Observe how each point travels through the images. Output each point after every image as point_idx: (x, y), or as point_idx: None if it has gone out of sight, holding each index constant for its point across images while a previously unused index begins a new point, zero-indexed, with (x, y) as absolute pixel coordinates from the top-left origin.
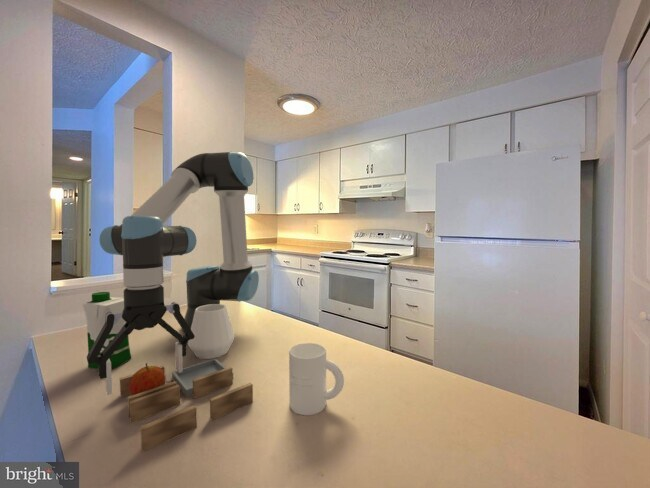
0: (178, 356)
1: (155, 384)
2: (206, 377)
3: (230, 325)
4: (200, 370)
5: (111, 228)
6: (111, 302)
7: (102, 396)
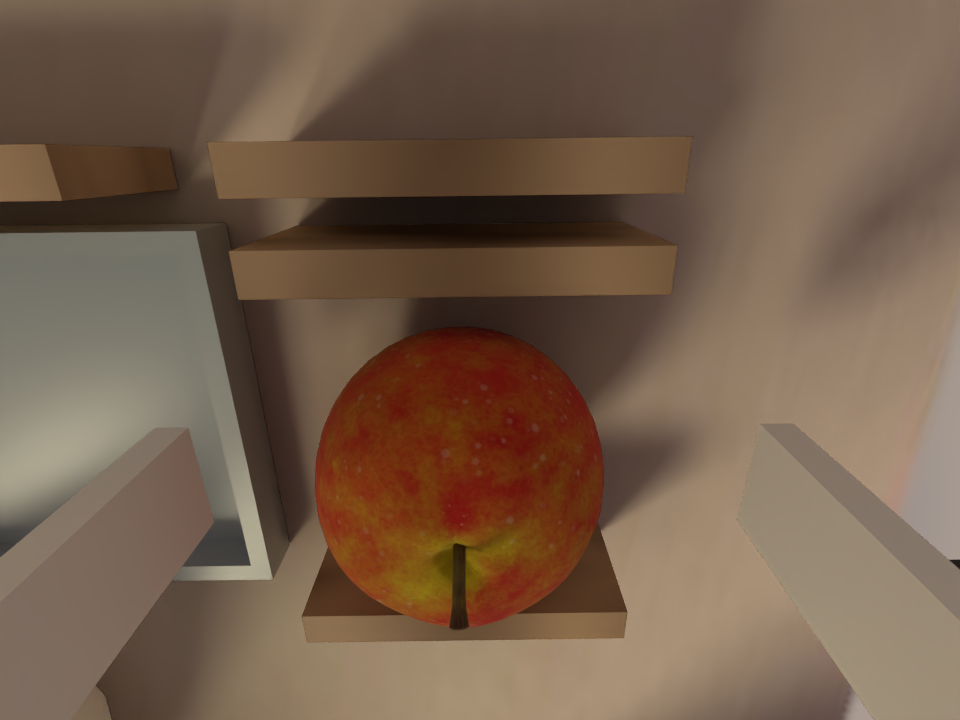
0: (57, 569)
1: (419, 354)
2: None
3: None
4: None
5: None
6: None
7: (669, 582)
